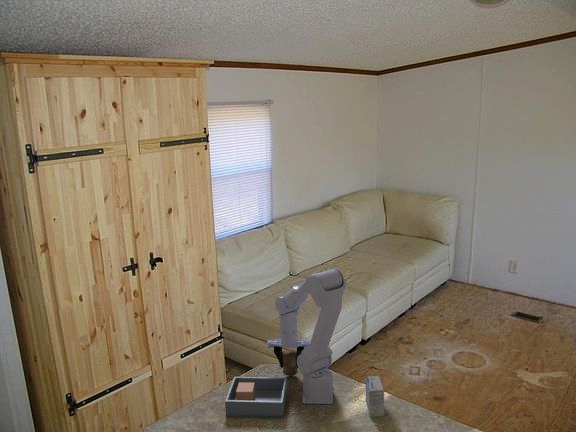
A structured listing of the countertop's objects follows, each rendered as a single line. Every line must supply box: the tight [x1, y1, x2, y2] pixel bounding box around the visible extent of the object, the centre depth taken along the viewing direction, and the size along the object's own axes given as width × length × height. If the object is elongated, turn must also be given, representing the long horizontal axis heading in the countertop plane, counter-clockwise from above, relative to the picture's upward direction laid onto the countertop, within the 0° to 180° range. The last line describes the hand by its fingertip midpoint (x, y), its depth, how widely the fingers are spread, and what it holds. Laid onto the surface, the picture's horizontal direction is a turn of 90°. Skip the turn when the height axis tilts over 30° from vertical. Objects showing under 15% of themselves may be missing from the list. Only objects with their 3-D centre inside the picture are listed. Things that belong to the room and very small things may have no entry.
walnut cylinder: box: [282, 348, 299, 377], centre depth 156 cm, size 5×5×7 cm
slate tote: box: [224, 376, 288, 419], centre depth 142 cm, size 17×13×5 cm
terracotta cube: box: [236, 382, 255, 401], centre depth 143 cm, size 5×5×5 cm
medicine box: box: [365, 375, 385, 418], centre depth 137 cm, size 8×4×9 cm, turn 179°
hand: (290, 366), depth 156 cm, fingers closed on walnut cylinder, 5 cm apart
